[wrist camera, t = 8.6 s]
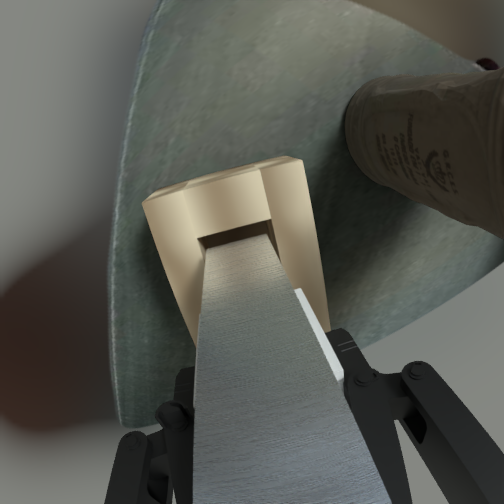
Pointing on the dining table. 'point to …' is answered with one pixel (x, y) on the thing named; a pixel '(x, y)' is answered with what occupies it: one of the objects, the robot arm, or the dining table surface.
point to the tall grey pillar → (269, 394)
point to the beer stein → (435, 141)
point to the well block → (237, 228)
